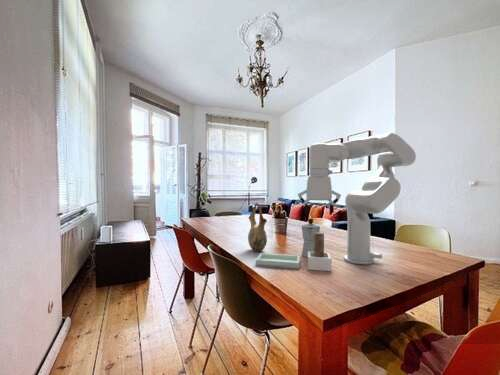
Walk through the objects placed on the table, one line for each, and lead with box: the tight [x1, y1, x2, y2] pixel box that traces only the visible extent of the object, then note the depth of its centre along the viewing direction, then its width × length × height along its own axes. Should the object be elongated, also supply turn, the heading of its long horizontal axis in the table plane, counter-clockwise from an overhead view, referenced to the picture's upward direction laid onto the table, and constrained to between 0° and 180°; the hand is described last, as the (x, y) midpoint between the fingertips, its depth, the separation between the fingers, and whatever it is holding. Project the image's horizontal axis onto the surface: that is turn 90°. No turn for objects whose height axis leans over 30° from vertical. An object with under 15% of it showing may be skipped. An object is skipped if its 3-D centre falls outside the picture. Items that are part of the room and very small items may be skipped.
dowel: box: [314, 231, 325, 257], centre depth 104 cm, size 4×4×14 cm
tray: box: [255, 252, 301, 270], centre depth 108 cm, size 18×11×2 cm, turn 77°
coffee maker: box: [301, 218, 321, 259], centre depth 121 cm, size 15×9×18 cm, turn 161°
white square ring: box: [307, 251, 332, 272], centre depth 104 cm, size 9×9×5 cm
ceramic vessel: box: [247, 202, 268, 253], centre depth 129 cm, size 16×9×25 cm, turn 27°
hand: (318, 214), depth 103 cm, fingers open, 9 cm apart
